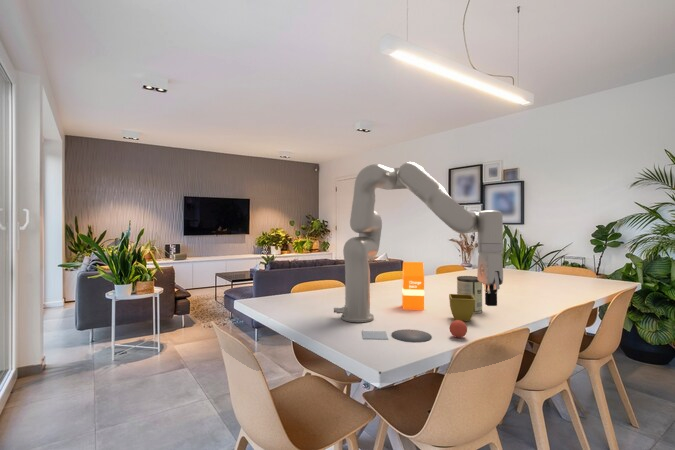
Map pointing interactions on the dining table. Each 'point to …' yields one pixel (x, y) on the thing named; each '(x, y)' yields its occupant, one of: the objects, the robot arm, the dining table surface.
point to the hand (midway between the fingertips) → (491, 305)
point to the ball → (458, 328)
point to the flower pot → (462, 306)
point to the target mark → (411, 335)
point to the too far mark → (374, 335)
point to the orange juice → (413, 285)
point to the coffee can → (471, 290)
